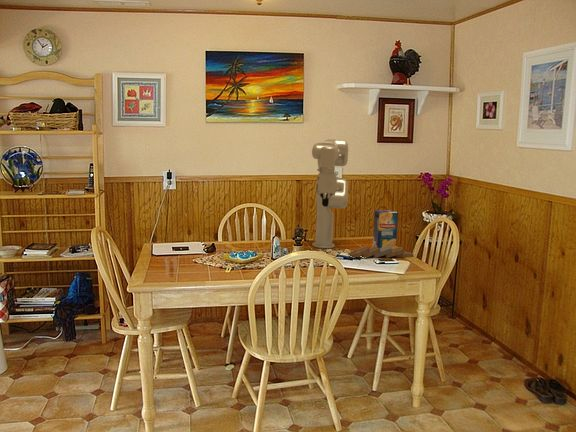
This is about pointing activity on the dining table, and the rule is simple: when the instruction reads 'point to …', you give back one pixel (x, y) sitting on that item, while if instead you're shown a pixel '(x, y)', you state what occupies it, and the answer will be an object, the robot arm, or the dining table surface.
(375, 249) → the domino
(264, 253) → the dining table surface
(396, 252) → the domino
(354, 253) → the domino
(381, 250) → the domino
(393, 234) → the beverage box
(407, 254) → the domino
